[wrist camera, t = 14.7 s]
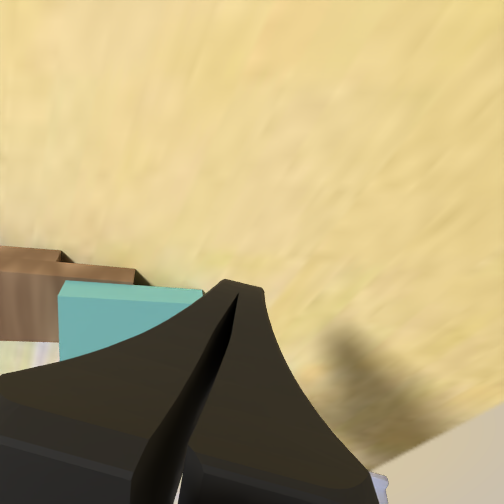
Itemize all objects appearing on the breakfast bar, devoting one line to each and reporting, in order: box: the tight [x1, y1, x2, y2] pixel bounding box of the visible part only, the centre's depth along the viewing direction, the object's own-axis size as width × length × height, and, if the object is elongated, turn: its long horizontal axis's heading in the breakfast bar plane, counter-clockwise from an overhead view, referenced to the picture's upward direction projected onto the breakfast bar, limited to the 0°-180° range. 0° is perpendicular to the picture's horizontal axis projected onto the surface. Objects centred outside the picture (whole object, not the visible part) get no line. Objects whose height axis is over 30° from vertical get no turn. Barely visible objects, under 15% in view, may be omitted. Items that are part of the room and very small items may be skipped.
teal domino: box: [58, 280, 203, 361], centre depth 21 cm, size 2×5×8 cm
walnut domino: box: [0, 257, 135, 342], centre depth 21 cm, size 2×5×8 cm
